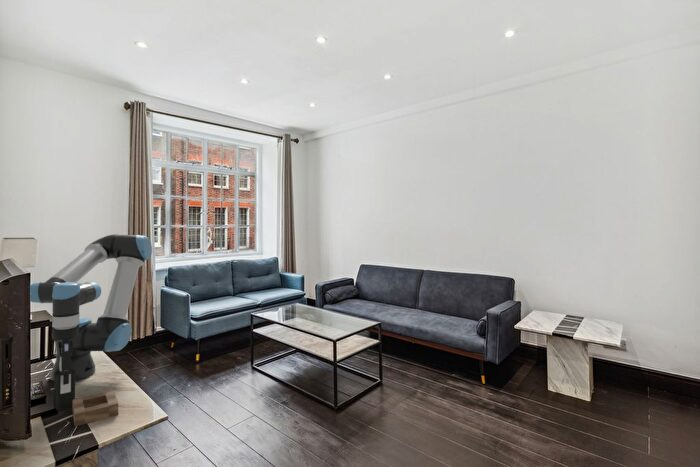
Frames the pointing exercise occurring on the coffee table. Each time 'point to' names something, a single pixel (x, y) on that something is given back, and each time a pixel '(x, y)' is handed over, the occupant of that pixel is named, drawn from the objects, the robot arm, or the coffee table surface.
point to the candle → (63, 399)
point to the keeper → (94, 407)
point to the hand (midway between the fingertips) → (64, 385)
